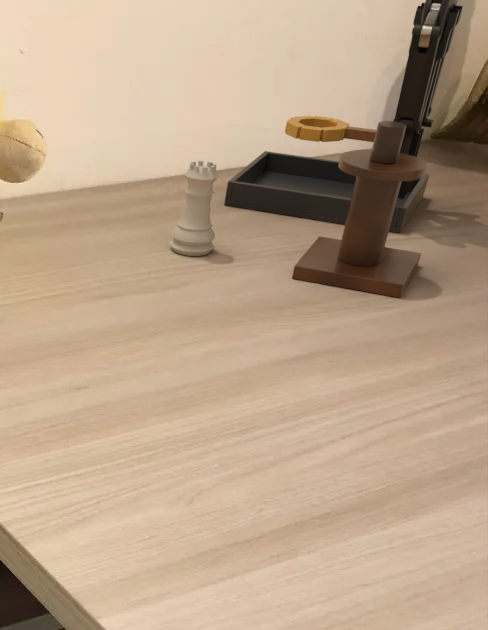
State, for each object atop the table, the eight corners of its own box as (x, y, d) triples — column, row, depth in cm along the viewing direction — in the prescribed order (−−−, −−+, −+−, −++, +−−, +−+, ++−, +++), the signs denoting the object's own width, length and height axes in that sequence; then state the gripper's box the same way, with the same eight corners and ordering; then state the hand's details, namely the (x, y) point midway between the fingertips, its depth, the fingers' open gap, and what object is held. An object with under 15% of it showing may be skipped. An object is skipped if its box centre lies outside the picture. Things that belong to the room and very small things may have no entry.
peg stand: (418, 265, 101) (459, 119, 93) (399, 298, 94) (442, 143, 86) (316, 248, 105) (347, 106, 96) (291, 278, 98) (322, 128, 89)
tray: (423, 197, 119) (429, 173, 118) (399, 233, 109) (406, 208, 107) (261, 173, 126) (264, 150, 124) (224, 205, 115) (227, 181, 114)
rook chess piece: (222, 252, 103) (236, 166, 98) (189, 260, 101) (202, 173, 96) (192, 239, 106) (204, 155, 101) (159, 247, 104) (170, 161, 99)
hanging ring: (279, 137, 113) (281, 125, 112) (294, 125, 117) (296, 113, 117) (411, 154, 108) (414, 141, 107) (421, 141, 113) (424, 129, 112)
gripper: (429, -73, 105) (371, 174, 120) (405, -63, 95) (344, 205, 110) (507, -69, 103) (437, 183, 118) (491, -57, 93) (416, 216, 108)
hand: (392, 193), depth 114 cm, fingers closed on hanging ring
